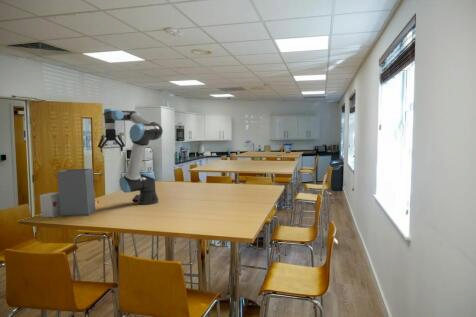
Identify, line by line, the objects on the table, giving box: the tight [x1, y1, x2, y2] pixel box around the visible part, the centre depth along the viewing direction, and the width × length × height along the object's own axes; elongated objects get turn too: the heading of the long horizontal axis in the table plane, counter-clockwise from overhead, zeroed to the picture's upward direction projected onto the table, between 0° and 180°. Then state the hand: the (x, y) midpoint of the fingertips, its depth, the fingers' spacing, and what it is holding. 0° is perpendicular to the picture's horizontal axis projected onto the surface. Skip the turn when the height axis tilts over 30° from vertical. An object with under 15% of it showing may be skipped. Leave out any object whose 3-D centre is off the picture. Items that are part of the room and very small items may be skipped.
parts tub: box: [56, 168, 96, 218], centre depth 224 cm, size 18×13×30 cm
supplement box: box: [39, 192, 61, 218], centre depth 222 cm, size 9×9×15 cm
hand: (112, 155), depth 258 cm, fingers open, 13 cm apart
